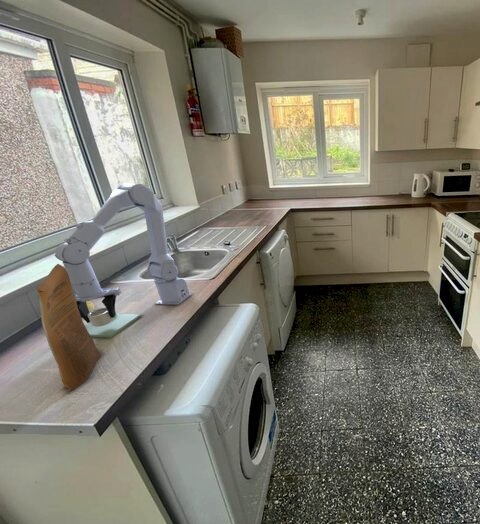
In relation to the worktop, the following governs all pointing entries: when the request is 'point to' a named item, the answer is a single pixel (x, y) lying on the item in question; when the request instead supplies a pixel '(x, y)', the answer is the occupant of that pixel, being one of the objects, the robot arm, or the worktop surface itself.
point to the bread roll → (90, 306)
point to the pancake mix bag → (66, 329)
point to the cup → (100, 317)
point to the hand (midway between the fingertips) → (101, 318)
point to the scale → (112, 325)
